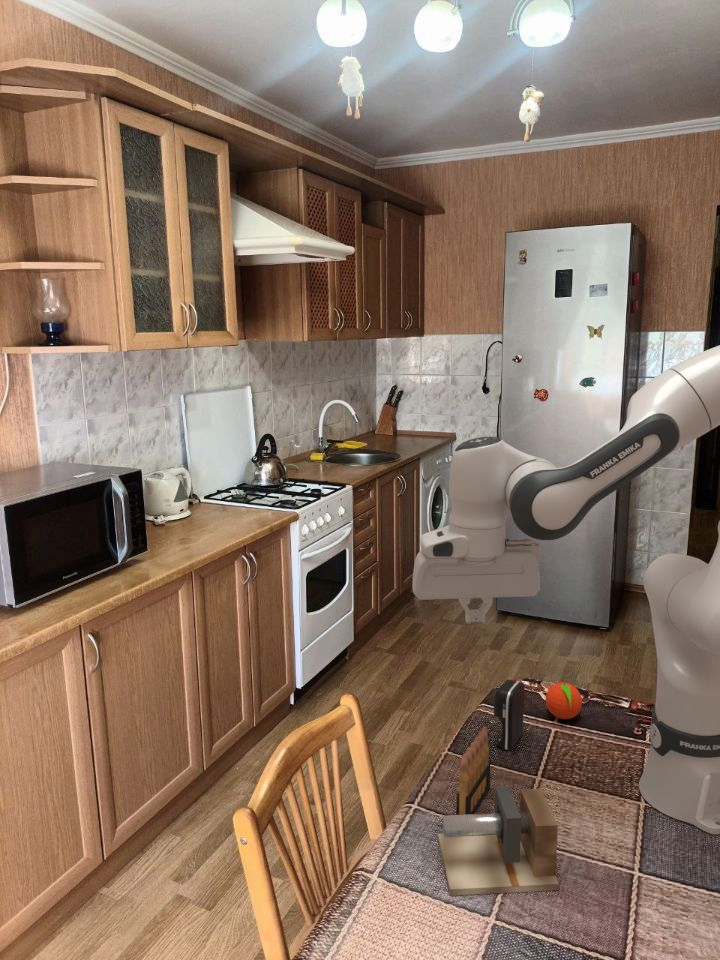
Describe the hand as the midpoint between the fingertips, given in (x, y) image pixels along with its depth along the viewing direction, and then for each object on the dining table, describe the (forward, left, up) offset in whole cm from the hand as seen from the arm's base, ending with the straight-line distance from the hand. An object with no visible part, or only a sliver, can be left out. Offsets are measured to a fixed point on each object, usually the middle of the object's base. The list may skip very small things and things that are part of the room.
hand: (475, 622), depth 116 cm
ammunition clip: (+1, +6, -29) cm, 30 cm away
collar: (-1, +19, -26) cm, 32 cm away
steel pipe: (+1, +19, -24) cm, 31 cm away
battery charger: (-9, -12, -29) cm, 33 cm away
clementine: (-22, -19, -29) cm, 41 cm away
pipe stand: (0, +19, -29) cm, 35 cm away
